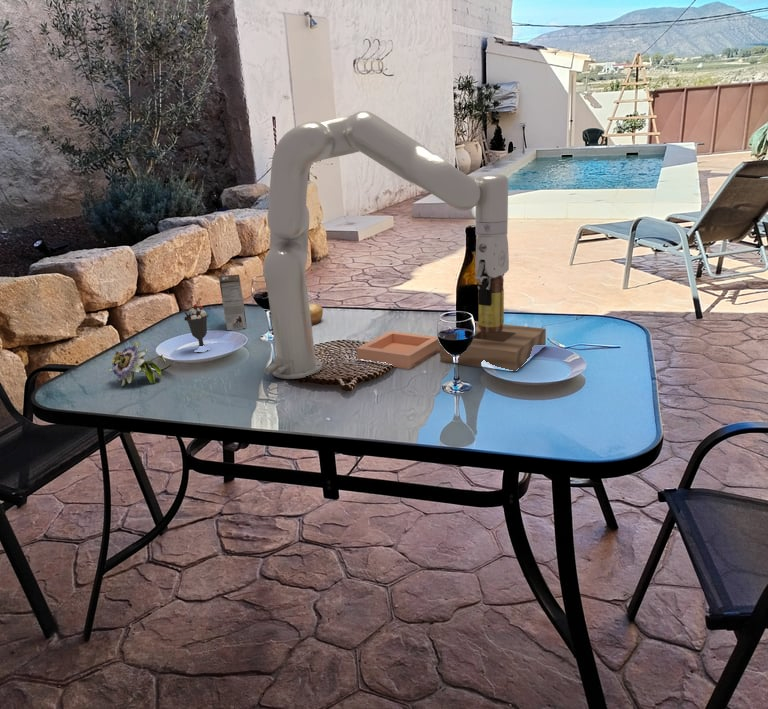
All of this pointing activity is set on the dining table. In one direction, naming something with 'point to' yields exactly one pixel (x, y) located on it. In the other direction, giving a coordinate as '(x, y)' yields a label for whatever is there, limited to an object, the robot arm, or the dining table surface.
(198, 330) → the sundae
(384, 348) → the tray
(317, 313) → the pastry
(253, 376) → the dining table surface
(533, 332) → the holder block
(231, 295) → the coffee box
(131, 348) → the passion flower
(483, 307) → the sauce bottle
